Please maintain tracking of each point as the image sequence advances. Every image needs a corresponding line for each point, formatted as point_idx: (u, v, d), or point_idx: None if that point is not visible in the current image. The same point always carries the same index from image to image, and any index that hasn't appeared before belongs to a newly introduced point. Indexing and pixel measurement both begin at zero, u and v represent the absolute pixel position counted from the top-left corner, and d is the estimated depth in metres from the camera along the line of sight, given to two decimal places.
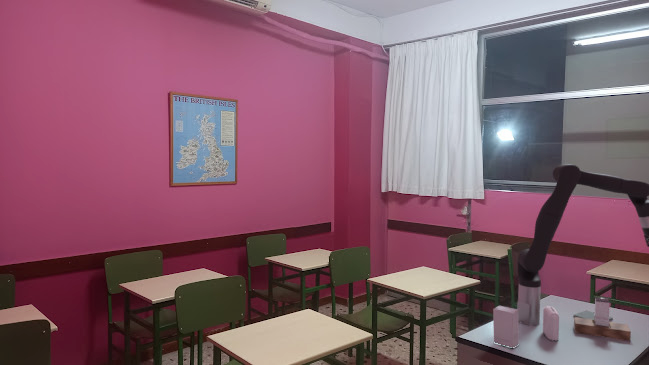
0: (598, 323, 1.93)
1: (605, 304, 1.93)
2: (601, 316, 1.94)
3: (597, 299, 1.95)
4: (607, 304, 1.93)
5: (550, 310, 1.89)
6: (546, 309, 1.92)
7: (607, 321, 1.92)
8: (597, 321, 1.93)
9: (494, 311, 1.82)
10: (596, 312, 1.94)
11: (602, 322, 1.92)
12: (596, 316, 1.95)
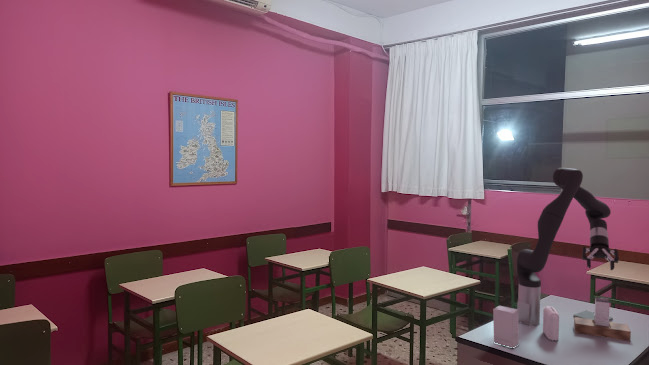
0: (598, 323, 1.93)
1: (605, 304, 1.93)
2: (601, 316, 1.94)
3: (597, 299, 1.95)
4: (607, 304, 1.93)
5: (550, 310, 1.89)
6: (546, 309, 1.92)
7: (607, 321, 1.92)
8: (597, 321, 1.93)
9: (494, 311, 1.82)
10: (596, 312, 1.94)
11: (602, 322, 1.92)
12: (596, 316, 1.95)
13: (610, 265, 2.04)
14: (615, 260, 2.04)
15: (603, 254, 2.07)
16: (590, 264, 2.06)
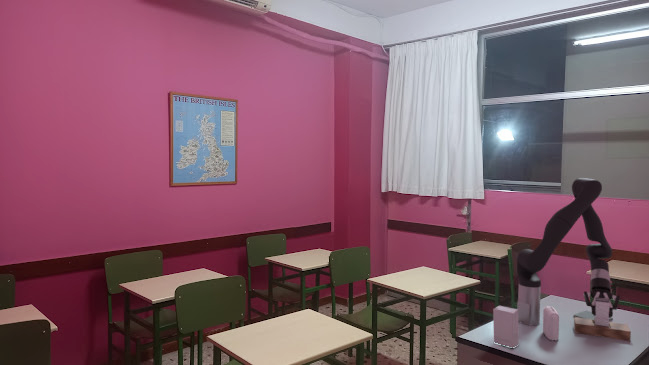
0: (598, 323, 1.93)
1: (605, 304, 1.93)
2: (601, 316, 1.94)
3: (597, 299, 1.95)
4: (607, 304, 1.93)
5: (550, 310, 1.89)
6: (546, 309, 1.92)
7: (607, 321, 1.92)
8: (597, 321, 1.93)
9: (494, 311, 1.82)
10: (596, 312, 1.94)
11: (602, 322, 1.92)
12: (596, 316, 1.95)
13: None
14: (613, 307, 1.93)
15: None
16: (595, 312, 1.94)
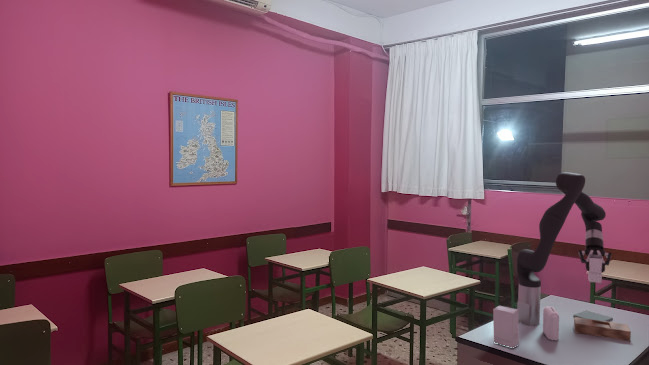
0: (591, 277, 2.10)
1: (598, 260, 2.10)
2: (594, 271, 2.11)
3: (591, 256, 2.12)
4: (600, 260, 2.10)
5: (550, 310, 1.89)
6: (546, 309, 1.92)
7: (600, 275, 2.09)
8: (590, 275, 2.10)
9: (494, 311, 1.82)
10: (590, 268, 2.12)
11: (595, 276, 2.09)
12: (590, 271, 2.12)
13: None
14: (606, 263, 2.10)
15: None
16: None
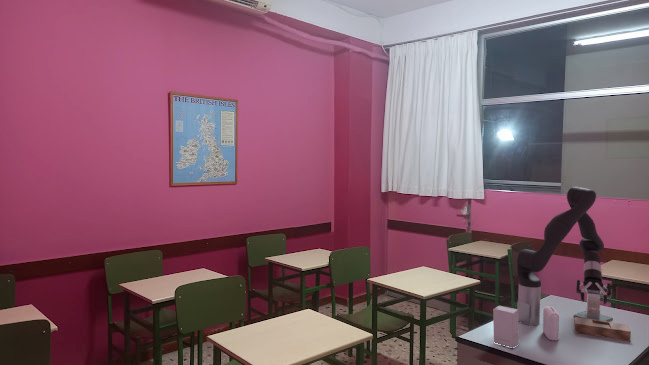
0: (590, 313, 2.11)
1: (596, 295, 2.11)
2: (592, 307, 2.12)
3: (589, 291, 2.13)
4: (598, 296, 2.11)
5: (550, 310, 1.89)
6: (546, 309, 1.92)
7: (598, 311, 2.10)
8: (588, 311, 2.12)
9: (494, 311, 1.82)
10: (588, 303, 2.13)
11: (593, 312, 2.11)
12: (588, 307, 2.13)
13: (603, 299, 2.11)
14: (608, 294, 2.11)
15: (596, 288, 2.15)
16: None
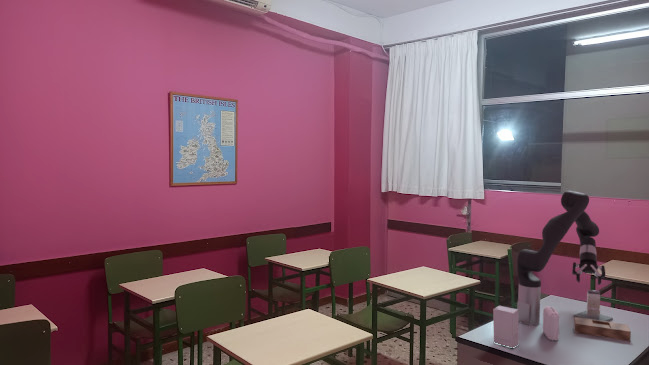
0: (590, 313, 2.11)
1: (596, 295, 2.11)
2: (592, 307, 2.12)
3: (589, 291, 2.13)
4: (598, 296, 2.11)
5: (550, 310, 1.89)
6: (546, 309, 1.92)
7: (598, 311, 2.10)
8: (588, 311, 2.12)
9: (494, 311, 1.82)
10: (588, 303, 2.13)
11: (593, 312, 2.11)
12: (588, 307, 2.13)
13: None
14: (602, 275, 2.22)
15: (591, 270, 2.25)
16: (579, 279, 2.24)
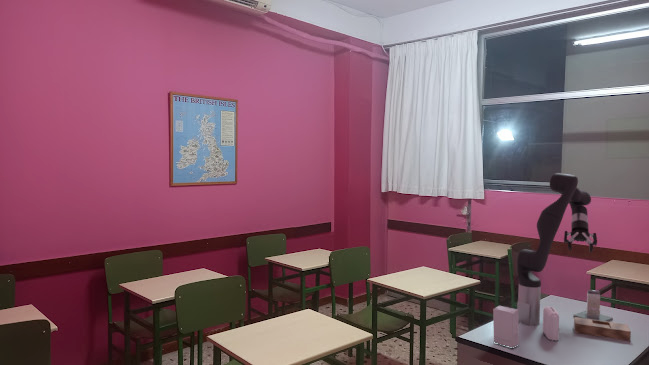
0: (590, 313, 2.11)
1: (596, 295, 2.11)
2: (592, 307, 2.12)
3: (589, 291, 2.13)
4: (598, 296, 2.11)
5: (550, 310, 1.89)
6: (546, 309, 1.92)
7: (598, 311, 2.10)
8: (588, 311, 2.12)
9: (494, 311, 1.82)
10: (588, 303, 2.13)
11: (593, 312, 2.11)
12: (588, 307, 2.13)
13: (589, 247, 2.20)
14: (594, 243, 2.20)
15: (583, 237, 2.23)
16: None
